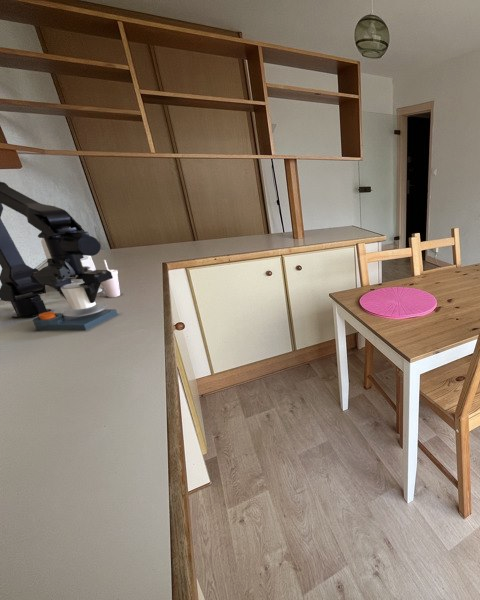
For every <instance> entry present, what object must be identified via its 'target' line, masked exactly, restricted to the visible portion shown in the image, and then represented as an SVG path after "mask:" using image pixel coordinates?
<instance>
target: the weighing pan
mask: <svg viewBox="0 0 480 600" xmlns="http://www.w3.org/2000/svg"><path fill="white" fill-rule="evenodd" d="M104 309H107V304H104V303H96V305H94V306H92V307H89V308H85V309H71V308H69V309H67V310H64V311H63V312H62V313H63V316H65V317H80V316H86V315H91V314H95V313H98V312H100V311H103V310H104Z"/></svg>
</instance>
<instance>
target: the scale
mask: <svg viewBox="0 0 480 600" xmlns="http://www.w3.org/2000/svg"><path fill="white" fill-rule="evenodd" d="M54 313H55V316H56V317H54V318H51V319H46V320H40V318H39V316H36V317H33V318H32V324H33V325H34V328H35V330H36V331H88V330H91V329H92V328H94V327H96V326H98V325H99V324H102V323H104V322H106V321H108V320H110V319H111V318H113V317H116V316H118V311H117V309H116V308H115V309H107V308H106V309H104V310H103V311H100V312H98V313H95V314H91V315H86V316H80V317H65V316H63V312H54Z"/></svg>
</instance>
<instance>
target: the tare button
mask: <svg viewBox="0 0 480 600" xmlns="http://www.w3.org/2000/svg"><path fill="white" fill-rule="evenodd" d="M55 313H56V312H54V311H49V312H45V313H41V314H39V315H38V316H37V317H39V318H40V320H46V319H51V318H54V317H56V316H55Z"/></svg>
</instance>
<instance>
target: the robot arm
mask: <svg viewBox="0 0 480 600" xmlns="http://www.w3.org/2000/svg"><path fill="white" fill-rule="evenodd" d="M3 205H4V206H6V207H8V208H10V209H11V210H13V211H15V212H16V213H19V214H20V215H22V216H23V217H25V218H26V220H27V223H28V224H29V225H31V226H32V227H34V228H35V229H37V230H38V231H40V233H38V235H37V238H39V239H42V238H44V240H45V242H46V245H47V248H48V250H49V253H50V256H51V258H49V259H47V258H46V262H47V265H46V266H43V267H42V268H40V269H38V268H37V267H36V268H33V267H31V266H29V265H27V264H26V262H25V261H24V259H23V257H22V255H21V253H20V251H19V249H18V248H17V246H16V244H15V242H14V240H13V239H12V237H11V235H10V233H9V231H8V229H7V227H6V226H5V223H4V222H3V220H2V213H3V211H4V206H3ZM101 248H102V246H101V242H100V241H99V240H98V239H97V238H96V237H94V236H92V235H90V232H89V231H86V230H85V229H84V228H83V227H82V225H80V224H79V223H78V222H77V220H75V219H74V217H73V216H72V215H71V214H70V213H69V212H68V211H67V210H65V209H64V208H60V207H57V206H54V205H49V204H44V203H40V202H39V201H37V200H35V199H33V198H30V197H29V196H28V195H26V194H23V193H22V192H20V191H18V190H16V189H14V188H12V187H11V186H9V185H8V184H7V183H6V182H4V181H0V267H1V270H0V285H1V286H0V300H1V302H10V304H11V305H12V308H13V310H14V312H15V314H14V315H11V316H10V317H11V318H12V319H34V318H37V317H39V316H38V315H39V314H41V313H45V312H52V308H47V307H46V304H45V302H44V300H43V299H42V297H41V295H43V294H46V293H47V288H46V286H47V287H50V288H53V289H55V290H56V291H57V292H58V293H59V294H60V295H61V296H62V297H63V298H64V299H65V300H66V298H65V296H64V294H63V292H62V290H61V288H60V287H62V286H64V285H67V284H71V283H72V282H71V279H82V280H83V281H84V283H82V284H79V286H81V287H83V288H84V289H85V292H86V294H87V297H88V299H89V301H90V303H94V302H95V303H96V299H97V295H98V293H97V292H98V289H99V288H101V287H100V286H101V282H104V281H106V280H109V279H112V278H113V277H112V274H111V272H110V271H108V270H109V269H108V270H106V269H96V270H94V271H91V272H88V273H85V272H86V271H88V269H87V268H83V266H82V263H81V260H80V259H82V258H84V257H83V255H86V256H91V257H93V256H94V257H95V256H96V255H98V254H99V253H100V251H101Z"/></svg>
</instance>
